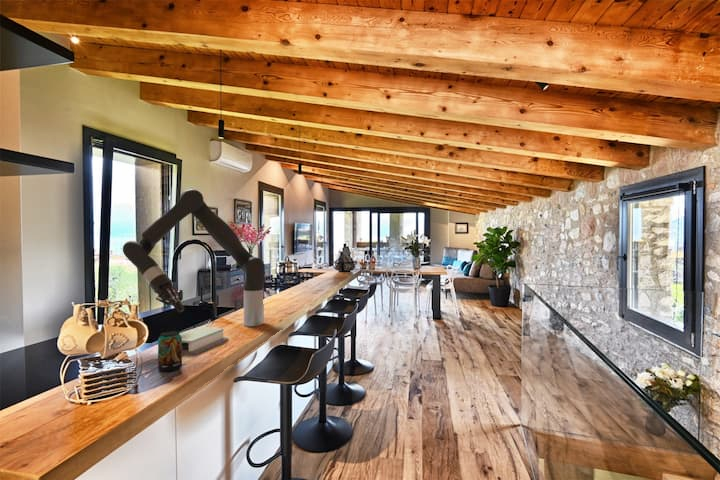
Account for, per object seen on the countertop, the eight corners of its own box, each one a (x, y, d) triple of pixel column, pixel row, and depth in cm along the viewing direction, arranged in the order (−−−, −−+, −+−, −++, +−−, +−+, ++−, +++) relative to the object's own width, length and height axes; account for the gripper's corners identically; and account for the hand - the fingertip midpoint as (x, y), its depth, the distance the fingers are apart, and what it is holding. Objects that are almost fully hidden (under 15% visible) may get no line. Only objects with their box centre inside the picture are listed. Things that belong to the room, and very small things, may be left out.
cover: (199, 328, 163) (199, 326, 163) (223, 330, 159) (223, 328, 159) (165, 340, 144) (165, 338, 144) (191, 343, 141) (191, 341, 141)
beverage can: (166, 374, 121) (166, 337, 121) (153, 370, 125) (153, 333, 125) (186, 367, 127) (186, 332, 127) (173, 363, 131) (173, 329, 131)
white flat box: (196, 337, 164) (196, 327, 164) (228, 340, 159) (228, 330, 159) (159, 351, 144) (159, 340, 144) (194, 355, 140) (194, 344, 140)
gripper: (149, 275, 149) (175, 307, 146) (174, 271, 162) (199, 301, 159) (139, 287, 151) (164, 320, 148) (164, 283, 164) (188, 313, 160)
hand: (182, 310), depth 153 cm, fingers closed
